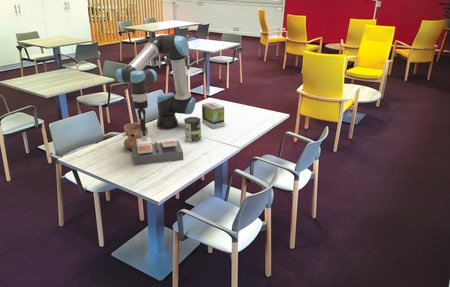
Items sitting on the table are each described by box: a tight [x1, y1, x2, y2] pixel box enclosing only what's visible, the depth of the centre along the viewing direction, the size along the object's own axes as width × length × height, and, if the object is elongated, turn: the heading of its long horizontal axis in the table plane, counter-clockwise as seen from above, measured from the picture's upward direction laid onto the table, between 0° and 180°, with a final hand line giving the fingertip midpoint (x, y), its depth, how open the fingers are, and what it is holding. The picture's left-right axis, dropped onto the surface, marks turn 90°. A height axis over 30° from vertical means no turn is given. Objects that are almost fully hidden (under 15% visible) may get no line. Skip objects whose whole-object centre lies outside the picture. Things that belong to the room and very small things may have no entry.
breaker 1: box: [136, 137, 153, 154], centre depth 212 cm, size 14×8×2 cm, turn 16°
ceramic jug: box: [122, 122, 149, 151], centre depth 226 cm, size 18×14×14 cm
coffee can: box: [183, 116, 202, 144], centre depth 237 cm, size 10×10×14 cm
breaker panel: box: [131, 140, 184, 166], centre depth 216 cm, size 16×28×7 cm, turn 105°
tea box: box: [201, 101, 225, 130], centre depth 262 cm, size 15×10×15 cm, turn 34°
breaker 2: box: [160, 138, 177, 147], centre depth 215 cm, size 14×8×2 cm, turn 15°
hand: (144, 140), depth 206 cm, fingers closed
